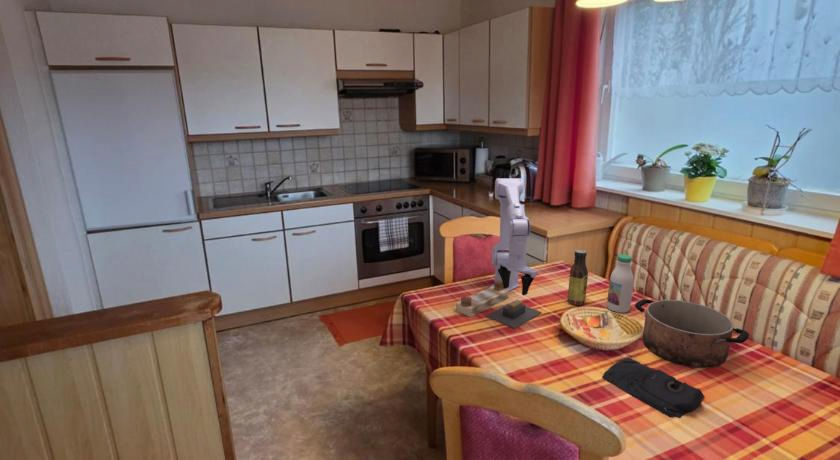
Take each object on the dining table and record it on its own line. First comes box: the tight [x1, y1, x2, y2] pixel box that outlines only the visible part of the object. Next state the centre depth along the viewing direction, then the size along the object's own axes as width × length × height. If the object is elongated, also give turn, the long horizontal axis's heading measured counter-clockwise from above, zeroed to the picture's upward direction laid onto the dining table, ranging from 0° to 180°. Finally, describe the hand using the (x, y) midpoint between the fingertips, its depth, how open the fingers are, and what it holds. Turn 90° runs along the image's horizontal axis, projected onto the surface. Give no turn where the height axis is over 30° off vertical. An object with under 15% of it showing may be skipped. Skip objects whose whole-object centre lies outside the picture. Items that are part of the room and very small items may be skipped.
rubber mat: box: [485, 303, 542, 330], centre depth 158 cm, size 16×12×1 cm
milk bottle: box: [606, 253, 634, 314], centre depth 160 cm, size 8×8×20 cm
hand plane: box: [455, 280, 510, 318], centre depth 166 cm, size 22×7×6 cm, turn 133°
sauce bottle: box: [567, 249, 589, 306], centre depth 165 cm, size 6×6×20 cm
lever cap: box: [502, 299, 527, 319], centre depth 157 cm, size 7×4×4 cm, turn 134°
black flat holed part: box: [601, 357, 705, 419], centre depth 118 cm, size 15×22×5 cm
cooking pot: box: [634, 298, 750, 369], centre depth 136 cm, size 30×22×11 cm
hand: (515, 291), depth 156 cm, fingers open, 7 cm apart
